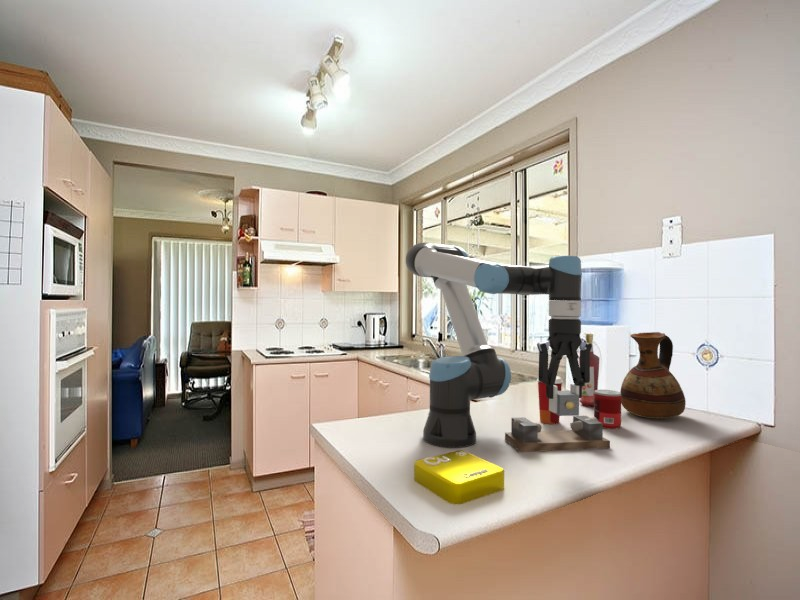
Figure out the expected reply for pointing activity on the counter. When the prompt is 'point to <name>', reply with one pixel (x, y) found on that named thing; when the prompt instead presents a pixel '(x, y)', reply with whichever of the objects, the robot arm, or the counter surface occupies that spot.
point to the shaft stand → (557, 435)
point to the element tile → (459, 476)
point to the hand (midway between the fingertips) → (563, 411)
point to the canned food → (608, 408)
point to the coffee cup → (547, 403)
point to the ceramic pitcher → (652, 380)
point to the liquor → (590, 387)
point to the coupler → (567, 403)
